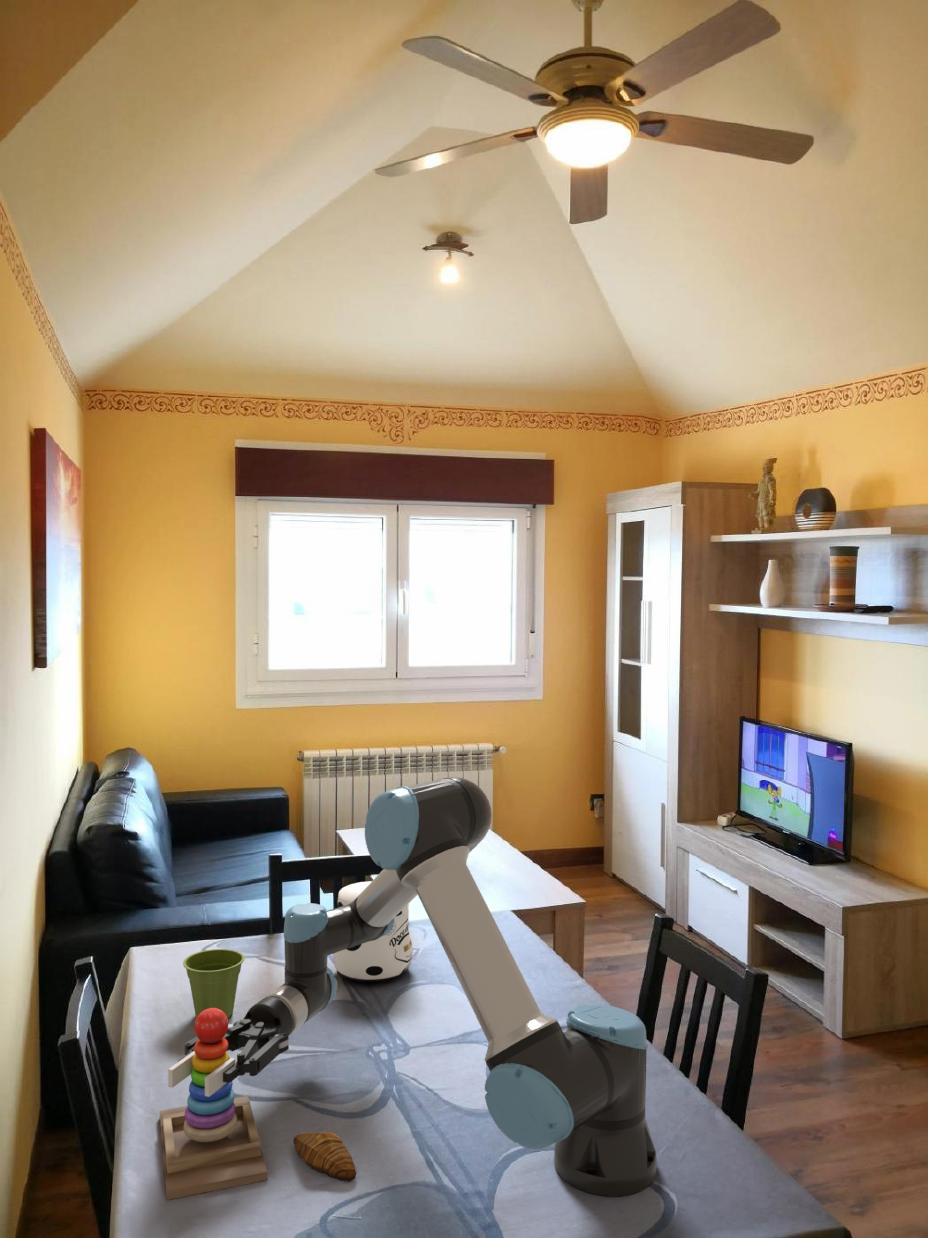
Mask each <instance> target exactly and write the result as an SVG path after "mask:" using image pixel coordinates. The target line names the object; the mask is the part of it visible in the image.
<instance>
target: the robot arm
mask: <svg viewBox="0 0 928 1238" xmlns="http://www.w3.org/2000/svg"><path fill="white" fill-rule="evenodd" d="M491 807H492V806H491V805H490V800H489V798H488V796H487V795H486V793H485V792H484V791H483V789H482V788H480V787H479V785H477V784H475V782H473V781H471V780H469V779H466V778H464V777H457V776H456V777H455V776H452V777H451V776H450V777H449V776H448V777H445V778H444V777H443V778H439V779H437V780H431V781H427V782H426V781H425V782H422V783H417V784H411V785H406V786H405V785H401V786H398V787H396V788H394V789H391V790H387V791H384V792H382V793H380V794H379V795H377V797H375V798H374V799H373V800H372V802H371V804H370V805H369V808H368V809H367V813H366V816H365V823H364V839H365V845H366V848H367V851H368V854H369V856H370V858H371V859H372V861H373V862H374V863H375V865H377V866H379V867H380V868H381V869H382V870H381V871H380V873H379V874H377V876H376V877H375V878H373V880H371V881H372V882H371V883H370V884H369V885H368V886H367V887H366V888H365V889H364V890H363V891H362V892H361V894H360V895H359V896H358V897H357V898H356V899H355V900H354V901H353V902H351V903H350V904H348V905H344V906H341V907H338V906H337V907H335V908H332V909H329V910H327V908H326V907H325V906H323V905H321V904H318V903H311V902H307V903H303V904H302V903H301V904H300V903H299V904H295V905H293V906H292V907H290V908H289V909H288V910H286V913H285V917H284V923H283V924H284V925H283V941H284V943H283V944H284V983H283V984H281V986H279V987H277V988H276V989H275V990H273V991H272V992H271V993H268V994H267V995H266V996H265V997H264V998H263V999H260V1000H259V1001H257V1003H255V1004H254V1005H252V1006H251V1007H250V1008H249V1009H248V1011H247V1012H246V1014H245V1016H244V1017H243V1019H240V1020H237V1021H235V1022H234V1023H231V1024H230V1023H228V1030H227V1032H226V1034H225V1036H224V1038H225V1039H226V1040H227V1041H228V1049H227V1051H226V1052H228V1051H230V1052H235V1051H237V1050H239V1049H241V1048H243V1049H242V1050H241V1051H240V1053H236V1058H233V1057H231V1058H230V1057H229V1060H228V1061H226V1062H225V1063H224V1064H222V1065H221V1066H220V1067H218V1068H217V1069H216V1070H215V1071H213V1072H212V1073H211V1074H209V1075H208V1076H207V1077H205V1096H207V1097H210V1096H211V1095H212V1094H213V1093H215V1092H216V1091H217V1090H218V1089H220V1088H221V1087H222V1086H223V1085H225V1084H226V1083H230V1082H232V1083H233V1081H234V1080H235V1079H237V1078H238V1077H240V1076H245V1075H246V1074H249V1076H251V1077H256V1076H257V1075H258V1074H259V1073H260V1072H262V1071H263V1070H264V1069H265V1068H266V1067H267V1066H268V1065H269V1064H270V1063H271V1062H273V1061H274V1060H275V1059H276V1058H277V1057H278V1056H279V1055H280V1054H283V1053H284V1052H287V1051H288V1050H289V1048H290V1047H289V1046H290V1043H289V1041H290V1040H289V1038H290V1037H289V1036H291V1035H292V1034H293V1033H294V1032H295V1031H297V1029H299V1028H301V1027H302V1026H303V1025H304V1024H305V1023H306V1022H308V1021H309V1020H311V1019H312V1018H314V1017H315V1016H316V1015H317V1014H318V1013H320V1012H322V1011H324V1010H325V1009H326V1008H327V1006H328V1005H329V1004H330V1003H331V1002H332V1001H333V999H335V997H336V995H337V991H338V981H337V979H336V976H335V974H334V971H333V970H332V969H331V968H329V967H328V959H329V958H328V956H329V955H333V953H336V952H339V951H342V950H345V949H348V948H351V947H354V946H357V945H360V944H363V943H366V942H369V941H374V940H377V939H378V938H380V937H382V936H384V935H386V934H388V933H389V932H390V931H391V930H392V928H393V923H394V917H395V916H396V915H397V914H398V913H399V912H400V911H401V910H402V909H403V908H405V907H406V906H407V905H408V904H410V903H411V902H412V901H413V900H414V899H415V898H416V897H417V896H418V898H419V900H420V902H421V904H422V906H423V908H424V910H425V912H426V914H427V917H428V918H429V921H430V923H431V925H432V927H433V929H434V932H435V934H436V937H438V940H439V942H440V944H441V946H442V948H443V951H444V952H445V955H446V956H447V959H448V961H449V963H450V966H451V967H452V969H453V971H454V973H455V975H456V977H457V980H458V981H459V984H460V986H461V988H462V990H463V992H464V995H465V997H466V998H467V1001H468V1002H469V1005H470V1007H471V1009H472V1011H473V1012H474V1015H475V1018H476V1019H477V1021H478V1024H479V1025H480V1028H481V1029H482V1032H483V1034H484V1036H485V1038H486V1040H487V1049H486V1053H485V1057H484V1061H485V1064H486V1066H487V1067H488V1070H489V1074H488V1076H487V1077H486V1080H485V1083H484V1091H485V1092H486V1093H485V1094H484V1099H485V1104H486V1108H487V1110H488V1113H489V1114H490V1117H491V1118H492V1121H493V1122H494V1123H495V1124H496V1127H498V1129H499V1130H500V1132H502V1134H503V1135H504V1136H505V1137H507V1139H509V1140H510V1141H511V1142H513V1143H514V1144H518V1145H519V1146H521V1147H523V1148H525V1149H529V1150H542V1149H545V1148H548V1147H550V1146H552V1145H553V1144H554V1147H553V1149H554V1151H553V1152H554V1153H553V1154H554V1155H553V1157H554V1159H553V1164H554V1168H555V1170H556V1171H557V1173H558V1175H559V1176H560V1177H561V1178H562V1179H563V1180H564V1181H565V1182H566V1183H567V1184H569V1185H571V1186H572V1187H574V1188H576V1189H578V1190H581V1191H583V1192H586V1193H588V1194H589V1193H590V1194H592V1195H593V1194H594V1195H596V1196H605V1197H621V1196H627V1195H632V1194H635V1193H638V1192H640V1191H643V1190H644V1189H646V1188H647V1187H648V1186H649V1185H651V1184H652V1183H653V1181H654V1180H655V1178H656V1176H657V1165H658V1163H657V1162H658V1160H657V1159H658V1158H657V1157H658V1156H657V1151H656V1148H655V1144H654V1142H653V1138H652V1134H651V1131H650V1128H649V1125H648V1122H647V1119H646V1100H647V1099H646V1098H647V1097H646V1093H647V1092H646V1091H647V1089H646V1087H647V1049H648V1046H649V1045H648V1044H647V1030H646V1029H647V1028H646V1026H645V1024H644V1022H643V1021H642V1020H641V1018H640V1017H639V1016H637V1015H636V1014H635V1013H632V1012H630V1011H629V1010H626V1009H623V1008H620V1007H616V1006H612V1005H606V1004H598V1003H590V1004H587V1003H586V1004H579V1005H576V1006H574V1007H572V1008H570V1009H569V1011H568V1012H567V1018H566V1021H565V1022H566V1031H564V1030H563V1029H562V1027H561V1025H560V1023H559V1021H558V1019H557V1018H554V1017H552V1016H549V1015H546V1014H544V1013H543V1012H542V1011H541V1010H540V1007H539V1005H538V1002H537V1001H536V1000H535V997H534V995H533V993H532V992H531V989H530V987H529V985H528V984H527V982H526V980H525V978H524V975H523V974H522V972H521V970H520V968H519V966H518V964H517V962H516V960H515V958H514V956H513V953H512V952H511V950H510V948H509V946H508V944H507V942H506V940H505V938H504V936H503V934H502V931H501V930H500V928H499V926H498V925H497V923H496V921H495V919H494V917H493V914H492V912H491V911H490V908H489V907H488V904H487V901H486V900H485V899H484V896H483V895H482V893H481V891H480V889H479V887H478V885H477V883H476V881H475V879H474V877H473V875H472V873H471V870H470V869H469V867H468V865H467V861H468V858H469V854H470V853H471V852H472V851H473V850H474V849H475V848H476V847H477V846H478V845H479V844H480V843H481V842H482V841H483V840H484V839H485V837H486V836H487V834H488V832H489V829H490V826H491V824H492V808H491ZM198 1040H199V1039H198V1037H197V1036H196V1035H195V1037H193V1038H192V1039H190V1040H188V1041H187V1042H185V1044H184V1056H182V1057H181V1058H179V1059H178V1060H177V1062H176V1063H175V1064H173V1065H172V1066H171V1067H169V1068H168V1069H167V1070H168V1071H167V1073H168V1075H167V1077H168V1078H167V1080H168V1088H171V1089H173V1088H174V1087H175V1086H177V1085H179V1084H180V1083H181V1082H182V1081H184V1080H185V1079H187V1078H188V1077H190V1076H191V1072H192V1069H193V1068H194V1067H193V1065H192V1059H193V1057H194V1056H195V1051H194V1046H195V1044H196V1042H197V1041H198Z"/></svg>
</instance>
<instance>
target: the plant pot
mask: <svg viewBox="0 0 928 1238" xmlns="http://www.w3.org/2000/svg"><path fill="white" fill-rule="evenodd" d="M244 961H245V955H244V954H243V953H242V952H240V951H238V950H234V949H228V948H213V949H205V950H201V951H197V952H194V953H192V954H190V955H188V956H187V957H185V958H184V959H183V961H182V965H183V967H184V968H185V970H186V975H187V978H188V980H189V984H190V991H191V997H192V1003H193V1009H194V1013H195V1019H196V1018H197V1017H198V1015H199V1014H200V1013H201V1012H202V1011H204V1010H206V1009H209V1008H217V1009H220V1010H222V1011H223V1012H224V1013H225V1014H226V1016H227V1018H228V1019H229V1018H230V1017H231V1015H232V1014H233V1013H234V1008H235V1001H236V995H237V987H238V981H239V975H240V974H241V968H242V964H243V963H244Z"/></svg>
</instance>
